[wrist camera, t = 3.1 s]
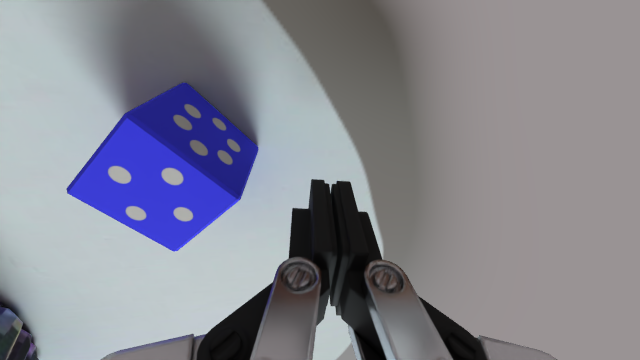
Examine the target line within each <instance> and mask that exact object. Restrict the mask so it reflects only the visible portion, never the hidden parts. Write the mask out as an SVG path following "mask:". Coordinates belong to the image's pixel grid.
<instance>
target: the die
mask: <svg viewBox="0 0 640 360" xmlns="http://www.w3.org/2000/svg"><path fill="white" fill-rule="evenodd" d="M257 153H258V146H257V145H256V144H254V143H253V142H252V141H251V140H250V139H249V138H248V137H247V136H245V135H244V134H243V133H242V132H241V131H240V130H239V129H238V128H237V127H235V126H234V125H233V124H232V123H231V122H230V121H229V120H228V119H227V118H225V117H224V116H223V115H222V114H221V113H220V112H219V111H218V110H216V109H215V108H214V107H213V106H212V105H211V104H210V103H209V102H208V101H206V100H205V99H204V98H203V97H202V96H201V95H200V94H199V93H198V92H196V91H195V90H194V89H193V88H192V87H191V86H190V85H189V84H187V83H181V84H179V85H177V86H175V87H173V88H171V89H170V90H168V91H166V92H164V93H162V94H160V95H158V96H157V97H155V98H153V99H151V100H149V101H147V102H145V103H143V104H142V105H140V106H138V107H136V108H134V109H132V110H130V111H129V112H127V113H125V114H124V116H123V117H122V118H121V119H120V121H119V122H118V123H117V125H116V126H115V127H114V128H113V130H112V131H111V132H110V134H109V135H108V136H107V137H106V139H105V140H104V141H103V143H102V144H101V145H100V146H99V148H98V149H97V150H96V152H95V153H94V154H93V155H92V157H91V158H90V159H89V161H88V162H87V163H86V164H85V166H84V167H83V168H82V170H81V171H80V172H79V173H78V175H77V176H76V177H75V179H74V180H73V181H72V182H71V184H70V185H69V186H68V188H67V193H68V194H70V195H72V196H74V197H75V198H77V199H79V200H81V201H83V202H84V203H86V204H88V205H90V206H92V207H94V208H95V209H97V210H99V211H101V212H103V213H105V214H106V215H108V216H110V217H112V218H114V219H115V220H117V221H119V222H121V223H123V224H125V225H126V226H128V227H130V228H132V229H134V230H135V231H137V232H139V233H141V234H143V235H145V236H146V237H148V238H150V239H152V240H154V241H156V242H157V243H159V244H161V245H163V246H165V247H166V248H168V249H170V250H172V251H178V250H179V249H180V248H181V247H183V246H184V245H185V244H186V243H188V242H189V241H190V240H191V239H192V238H194V237H195V236H196V235H197V234H199V233H200V232H201V231H202V230H203V229H205V228H206V227H207V226H208V225H210V224H211V223H212V222H213V221H214V220H216V219H217V218H218V217H219V216H221V215H222V214H223V213H224V212H225V211H227V210H228V209H229V208H230V207H232V206H233V205H234V204H235V203H236V202H238V201H239V200H240V199H241V196H242V194H243V191H244V188H245V185H246V183H247V180H248V177H249V174H250V172H251V169H252V166H253V163H254V161H255V158H256V155H257Z"/></svg>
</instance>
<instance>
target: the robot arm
mask: <svg viewBox="0 0 640 360" xmlns="http://www.w3.org/2000/svg"><path fill="white" fill-rule="evenodd" d="M329 294H330V304H331V306H336V315H341V318H342V319H343V320H344V321H345V322H346V323H347V324H348V329H349V334H350V338H351V342H352V345H353V349H354V352H355V356H356V360H557V359H556V358H554V357H553V356H551V355H549V354H547V353H545V352H543V351H540V350H537V349H533V348H529V347H524V346H520V345H516V344H512V343H508V342H504V341H500V340H496V339H492V338H488V337H484V336H480V335H479V337H478V338H475V337H474V336H472V335H471V334H470V333H469V332H468V331H467V330H465V329H464V328H462V327H461V326H459V325H458V324H457V323H456V322H454V321H453V320H451V319H450V318H449V317H447V316H446V315H444V314H443V313H441V312H440V311H439V310H437V309H436V308H434V307H433V306H432V305H430V304H429V303H427V302H426V301H425V300H423V299H422V298H420V297H419V296H418V295H417V293H416V292H415V290H414V288H413V286H412V285H411V283H410V281H409V279H408V277H407V275H406V274H405V273H404V271H403V270H402V269H401V268H400V267H399V266H397V265H396V264H394V263H392V262H390V261H386V260H382V257H381V254H380V250H379V247H378V244H377V241H376V238H375V234H374V231H373V228H372V225H371V222H370V219H369V215H368V213H367V212H358V209H357V205H356V202H355V198H354V194H353V190H352V187H351V183H350V182H346V181H337V183H336V184H332V188H331V194H330V188H329V184H326V183H325V182H324V180H314V179H312V180H311V189H310V199H309V209H298V208H293V209H292V223H291V236H290V250H289V259H287V260H286V261H284V262H283V263H282V264H281V265H280V266H279V267H278V269H277V271H276V274H275V278H274V281H273V283H271V284H270V285H269V286H267V287H266V288H265V289H263V290H262V291H261V292H259V293H258V294H257V295H255V296H254V297H253V298H252V299H250V300H249V301H248V302H246V303H245V304H244V305H242V306H241V307H240V308H238V309H237V310H236V311H234V312H233V313H232V314H231V315H229V316H228V317H227V318H225V319H224V320H223V321H221V322H220V323H219V324H217V325H216V326H215V327H214V328H212V329H211V330H210V331H209V332H208V333H207V334H205V335H200V336H196V337H194V334H190V335H186V336H182V337H177V338H173V339H168V340H164V341H159V342H155V343H151V344H146V345H142V346H137V347H133V348H128V349H124V350H120V351H117V352H114V353H112V354H109V355H107V356H106V357H104V358H103V359H101V360H312V358H313V349H314V340H315V332H316V326H317V325H318V324H319V323H320V322H321V321H322V320H323V319H324V315H325V310H326V306H327V304H328V299H329Z"/></svg>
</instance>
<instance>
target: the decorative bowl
mask: <svg viewBox="0 0 640 360" xmlns="http://www.w3.org/2000/svg"><path fill="white" fill-rule="evenodd" d="M0 306H1V305H0ZM22 325H23V322H22V321H21V320H20V319H19V318H18V317H17V316H16V315H15V314H14V313H13V312H12V311H11V310H10V309H8V308H4V307H0V360H38V358H37V356H36V346H35V345H34V344H33V343H31V335H30V334H29V333H28V332H26V331H24V330H22V329H21V328H22Z"/></svg>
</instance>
